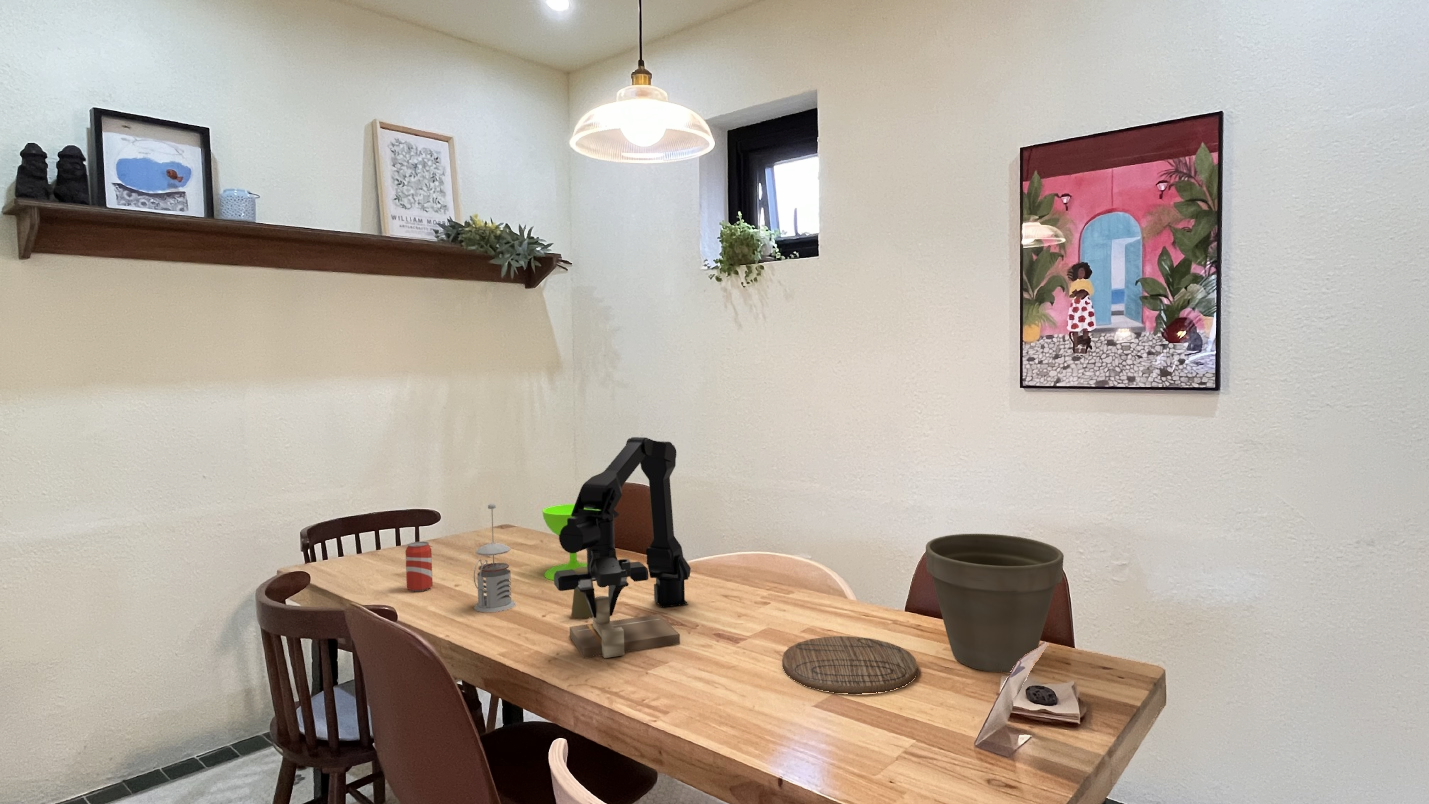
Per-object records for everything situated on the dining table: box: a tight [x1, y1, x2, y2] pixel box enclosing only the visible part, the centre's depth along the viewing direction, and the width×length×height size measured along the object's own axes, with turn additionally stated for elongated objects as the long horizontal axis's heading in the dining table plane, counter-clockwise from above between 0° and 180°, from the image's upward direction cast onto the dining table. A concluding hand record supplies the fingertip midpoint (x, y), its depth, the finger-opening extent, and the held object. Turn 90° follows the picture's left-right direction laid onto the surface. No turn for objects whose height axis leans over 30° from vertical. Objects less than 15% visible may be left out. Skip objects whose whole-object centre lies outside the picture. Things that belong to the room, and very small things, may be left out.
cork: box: [571, 567, 596, 620], centre depth 182 cm, size 6×6×11 cm
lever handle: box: [592, 595, 625, 659], centre depth 161 cm, size 4×13×9 cm, turn 22°
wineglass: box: [542, 503, 595, 581], centre depth 218 cm, size 16×16×18 cm
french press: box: [473, 502, 517, 613], centre depth 188 cm, size 10×12×25 cm
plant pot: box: [925, 533, 1065, 674], centre depth 150 cm, size 25×25×22 cm
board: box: [569, 613, 681, 659], centre depth 165 cm, size 20×14×2 cm
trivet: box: [781, 635, 918, 694], centre depth 148 cm, size 25×25×2 cm
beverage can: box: [405, 541, 434, 593], centre depth 205 cm, size 6×6×12 cm
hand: (602, 616), depth 163 cm, fingers closed on lever handle, 3 cm apart
